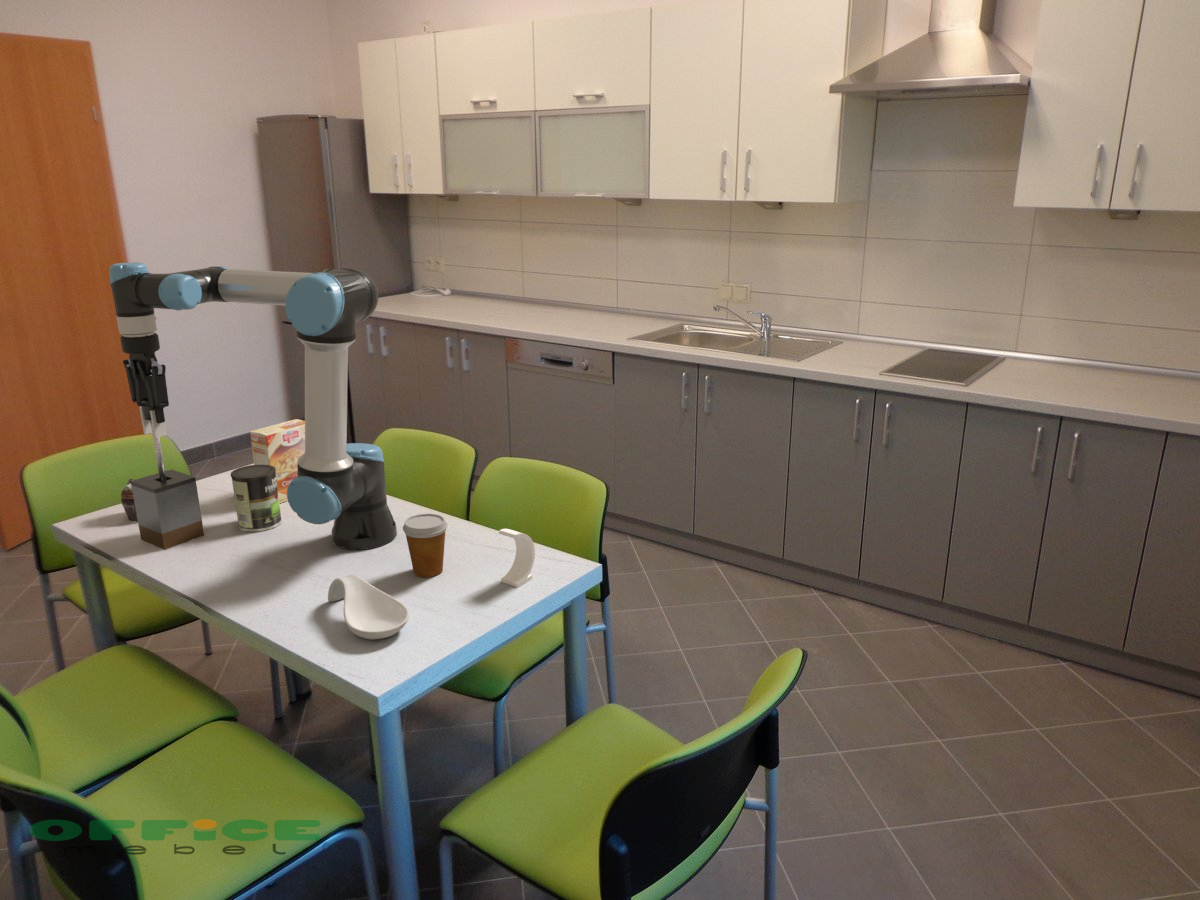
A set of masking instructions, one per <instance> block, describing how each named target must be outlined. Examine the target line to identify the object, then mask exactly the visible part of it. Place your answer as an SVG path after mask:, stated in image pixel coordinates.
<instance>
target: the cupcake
mask: <svg viewBox="0 0 1200 900" xmlns="http://www.w3.org/2000/svg"><path fill="white" fill-rule="evenodd" d="M127 480H128V481H127V484H125V486H124V488H123V489H122V490H121V493H120V497H121V499H120V500H121V505H122V507H123V510H124V511H125V514H126V518H127V519H128V521H131V522H135V523H138V520H137V514H136V508H135V503H134V497H133V492H132V486H131V481H133V480H135V479H132V478H130V479H127Z"/></svg>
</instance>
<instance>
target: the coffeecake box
mask: <svg viewBox="0 0 1200 900" xmlns="http://www.w3.org/2000/svg"><path fill="white" fill-rule="evenodd" d="M249 433H250V434H249V435H250V442H251V448H252V450H251V451H252V458H253V465H270V466H273V467H275V468H276V480H277V488H278V497H279V505H280V504H282V503H285V502H288V499H287V489H288V486H289V484H290V483H291V481H292V480H293V479H294V478H296V477H297V470H298V468H297V462H298V458H299V457H300V456H301V455H303V454H304V453H305V420H302V419H298V418H296V419H292V420H288V421H284V422H280V423H277V424H272V425H269V426H265V427H262V428H258V429H255V430H251V431H249Z"/></svg>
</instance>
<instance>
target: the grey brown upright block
mask: <svg viewBox="0 0 1200 900" xmlns="http://www.w3.org/2000/svg"><path fill="white" fill-rule="evenodd" d="M165 473H166V479H167V480H166V481H163V482H160V478H159V472H158V473H154V474H151V475H147V476H143V477H140V478H136V479H134V480H133V481H131V486H132V492H133V497H134V503H135V508H136V514H137V520H138V522H137V525H138V530H139V536H140V540H141V541H142V542H145V543H147V544H150V545H151V546H154V547H156V548H159V549H162V550H165V551H166V550H168V549H171V548H174V547H177V546H179V545H182V544H184V543H187V542H190V541H193V540H196V539H200V538H202V537H204V536H205V531H204V525H203V519H202V512H201V511H202V510H201V505H200V499H199V493H198V487H197V485H198V484H197V480H196V476H192V475H189V474H187V473H184V472H181V471H177V470H174V469H172V468H171V469H167V470H165Z"/></svg>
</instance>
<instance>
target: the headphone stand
mask: <svg viewBox="0 0 1200 900" xmlns="http://www.w3.org/2000/svg"><path fill="white" fill-rule="evenodd" d="M498 534H499V535H502V536H506V537H509V538H513V539H514V541H515V556H514V559H513V560H514V561H513V563H512V564H511V565H512V566H511V567H510V569H509V570H508V571H507V573H506V574H505V575H504V576H502V577H501V583H504V584H507V585H510V586H513V587H515V588H518V587H520V586H522V585H524V584H526V583H527V582H529V581H531V580H533V575H532V574H531V572H532V569H533V566H534V561H535V558H536V557H535V556H536V549H535V544H534V541H533V539H532V538H531V536H529V535H528V534H525V533H522V532H519V531H516V530H513V529H511V528H502V529H499V532H498Z"/></svg>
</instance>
